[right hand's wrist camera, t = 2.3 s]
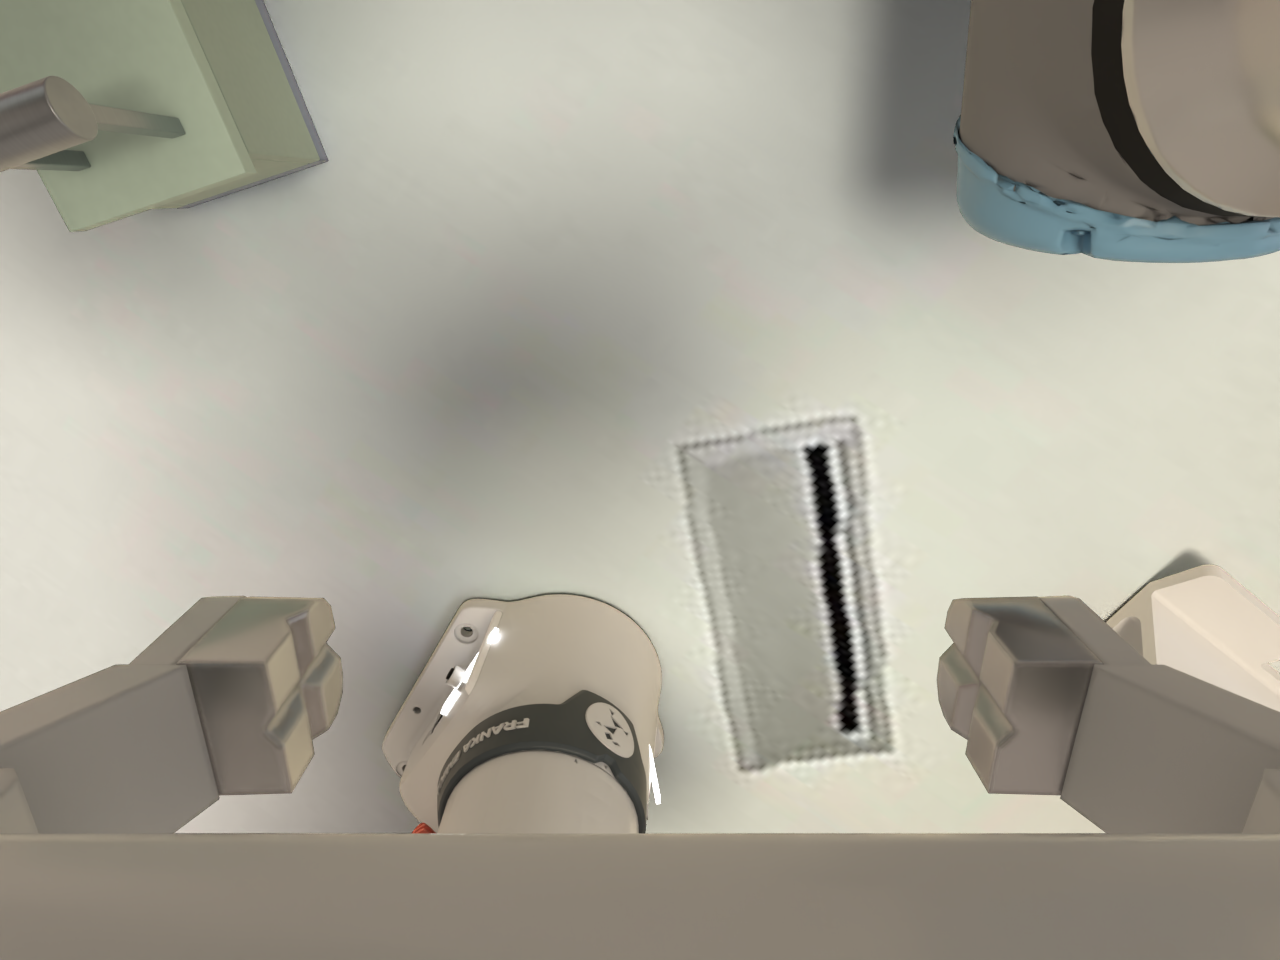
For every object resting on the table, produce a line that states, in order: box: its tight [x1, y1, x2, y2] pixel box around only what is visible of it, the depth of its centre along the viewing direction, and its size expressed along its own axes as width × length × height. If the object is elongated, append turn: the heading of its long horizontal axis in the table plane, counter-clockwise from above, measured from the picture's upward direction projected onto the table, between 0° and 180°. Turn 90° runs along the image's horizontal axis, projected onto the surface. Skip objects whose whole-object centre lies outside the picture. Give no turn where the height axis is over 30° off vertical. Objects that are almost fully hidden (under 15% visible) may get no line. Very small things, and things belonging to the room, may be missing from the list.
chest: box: [153, 0, 328, 209], centre depth 37 cm, size 13×9×9 cm
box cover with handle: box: [0, 0, 257, 232], centre depth 29 cm, size 14×9×9 cm, turn 16°
